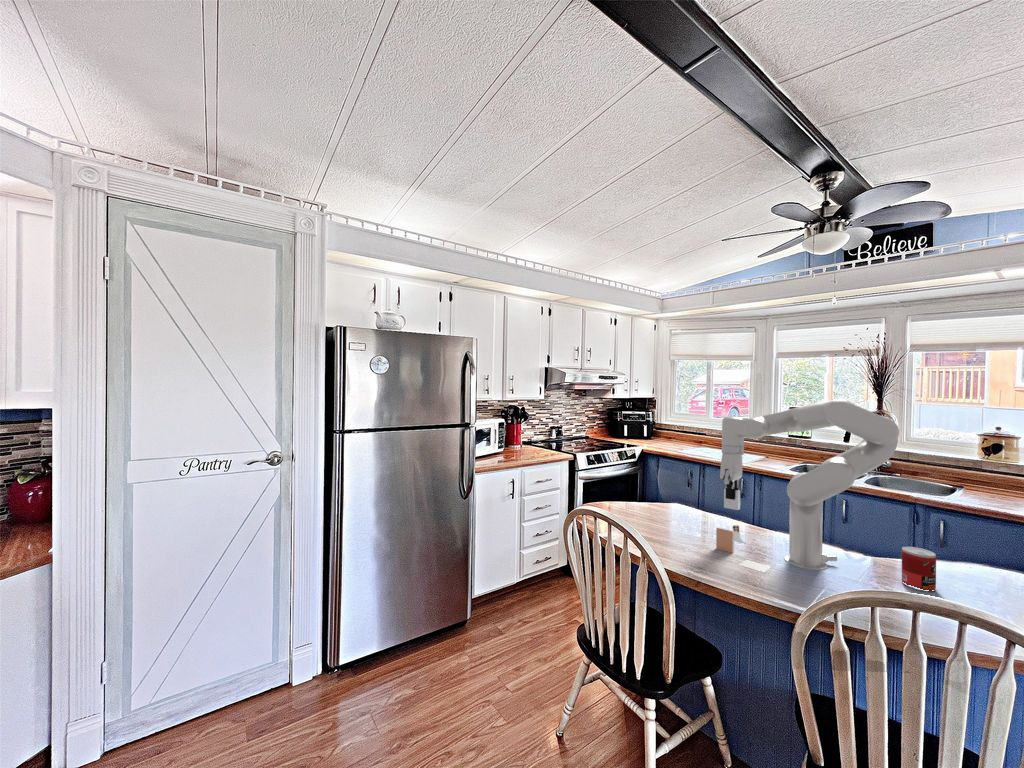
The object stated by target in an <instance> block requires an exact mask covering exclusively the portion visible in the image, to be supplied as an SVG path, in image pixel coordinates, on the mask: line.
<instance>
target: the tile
mask: <svg viewBox="0 0 1024 768" xmlns="http://www.w3.org/2000/svg"><path fill="white" fill-rule="evenodd" d="M715 529H716V531H715V532H716V533H715V534H716V535H715V537H716V538H715V539H716V541H715V543H716V544H715V546H716V547H715V548H716V549H717V550H720V551H724V552H728V553H731V554H734V553H735V541H734V529H729V528H724V527H720V526H716V528H715Z"/></svg>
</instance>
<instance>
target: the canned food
mask: <svg viewBox="0 0 1024 768" xmlns="http://www.w3.org/2000/svg"><path fill="white" fill-rule="evenodd" d="M936 555H937V554H936V553H935V552H933V551H931V550H928V549H925V548H921V547H915V546H902V547H901V582H902V583H903V582H904V583H906V584H907V585H911V586H914V587H917V588H920V589H923V590H929V591H932V590H935V591H936V589H937V556H936Z"/></svg>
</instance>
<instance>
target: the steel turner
mask: <svg viewBox="0 0 1024 768" xmlns="http://www.w3.org/2000/svg"><path fill="white" fill-rule="evenodd" d="M731 484H732V482H731ZM734 489H735V482H734ZM723 508H724V509H730V510H734V511H735V510H736V511H739V510H741V489H740V490H739V489H738V490H735V500H732V499H727V498H726V488H724V489H723Z"/></svg>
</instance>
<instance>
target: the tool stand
mask: <svg viewBox="0 0 1024 768" xmlns="http://www.w3.org/2000/svg"><path fill="white" fill-rule="evenodd" d="M738 566H739V567H740V566H741V567H744V568H747V569H750V570H753V571H757V572H758V571H759V572H761V573H766V572H767V571H769V570H770V569H771V568H772V566H771V565H768V564H765V563H759V562H757V561H753V560H749V559H746V560H744V561H743V562H741V563H739V564H738Z"/></svg>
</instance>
